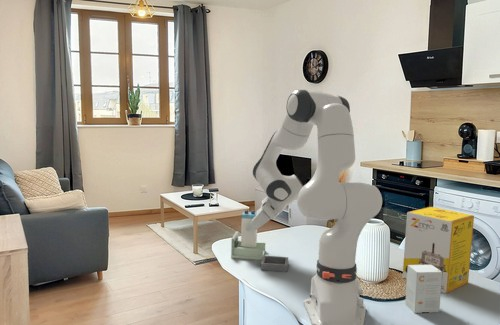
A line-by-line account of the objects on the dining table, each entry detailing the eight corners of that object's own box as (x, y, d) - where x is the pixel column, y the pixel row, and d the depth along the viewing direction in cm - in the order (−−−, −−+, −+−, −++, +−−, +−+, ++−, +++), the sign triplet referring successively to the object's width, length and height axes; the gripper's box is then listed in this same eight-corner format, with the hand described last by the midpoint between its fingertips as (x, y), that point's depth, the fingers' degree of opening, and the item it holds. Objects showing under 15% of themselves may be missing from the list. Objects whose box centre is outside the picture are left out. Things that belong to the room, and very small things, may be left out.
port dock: (262, 260, 165) (262, 241, 164) (231, 257, 167) (231, 239, 166) (265, 250, 177) (265, 232, 176) (236, 248, 179) (236, 230, 178)
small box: (428, 303, 130) (431, 264, 128) (439, 312, 124) (443, 271, 122) (404, 303, 129) (407, 264, 128) (414, 313, 123) (417, 272, 121)
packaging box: (402, 278, 150) (406, 211, 147) (425, 268, 160) (430, 206, 157) (445, 293, 137) (451, 221, 134) (468, 282, 147) (474, 215, 144)
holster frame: (287, 271, 153) (287, 265, 153) (260, 269, 155) (260, 263, 154) (288, 263, 162) (288, 257, 162) (263, 261, 164) (263, 255, 163)
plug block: (255, 247, 169) (256, 212, 167) (241, 246, 170) (241, 211, 168) (256, 243, 174) (257, 209, 172) (242, 242, 175) (243, 208, 173)
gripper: (268, 195, 179) (246, 216, 181) (263, 206, 158) (238, 229, 161) (278, 206, 179) (255, 226, 181) (275, 218, 158) (249, 240, 161)
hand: (247, 227), depth 171 cm, fingers closed on plug block, 5 cm apart
